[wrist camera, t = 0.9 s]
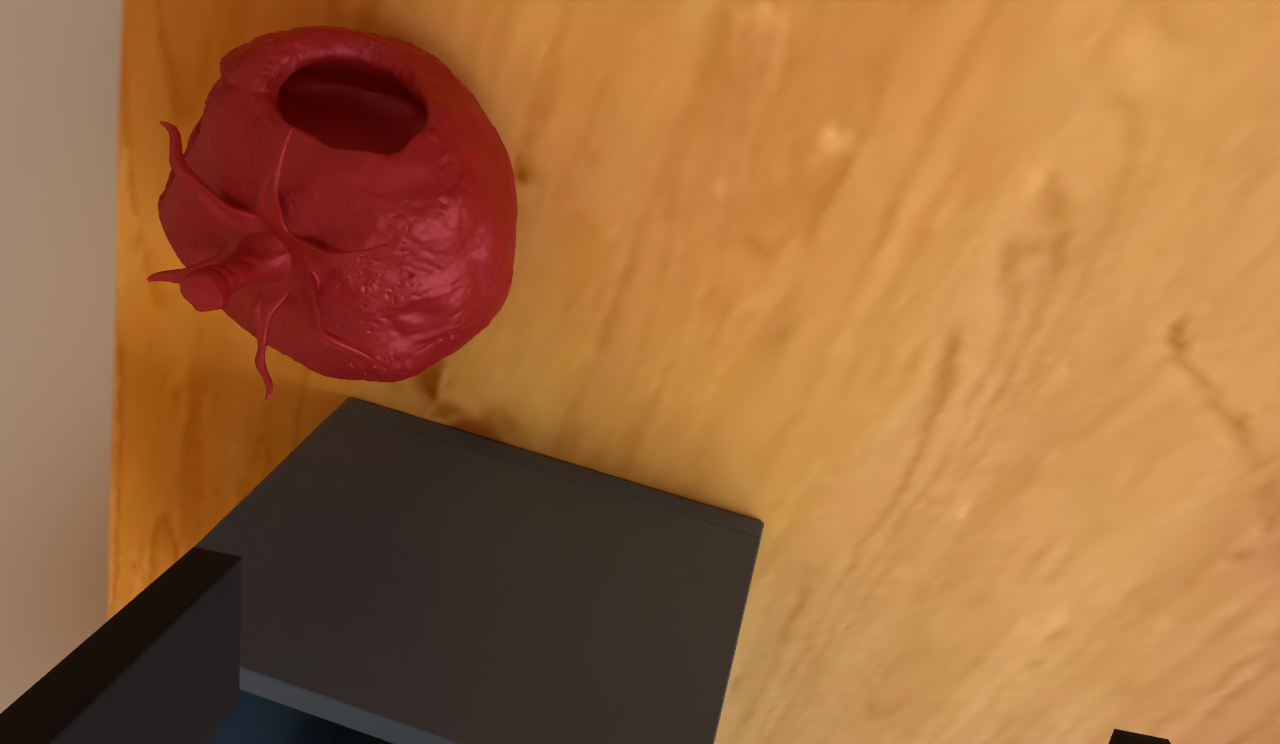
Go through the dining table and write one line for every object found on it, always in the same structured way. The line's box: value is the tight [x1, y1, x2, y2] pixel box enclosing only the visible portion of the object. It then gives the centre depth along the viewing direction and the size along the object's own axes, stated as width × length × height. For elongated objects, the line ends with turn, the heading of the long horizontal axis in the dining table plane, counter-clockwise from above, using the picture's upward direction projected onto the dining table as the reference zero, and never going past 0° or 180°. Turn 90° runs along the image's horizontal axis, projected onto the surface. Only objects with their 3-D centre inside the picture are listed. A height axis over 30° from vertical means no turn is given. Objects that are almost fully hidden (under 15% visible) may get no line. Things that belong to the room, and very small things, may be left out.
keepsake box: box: [195, 398, 764, 744], centre depth 33 cm, size 16×17×12 cm
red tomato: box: [147, 26, 517, 402], centre depth 25 cm, size 10×10×9 cm
